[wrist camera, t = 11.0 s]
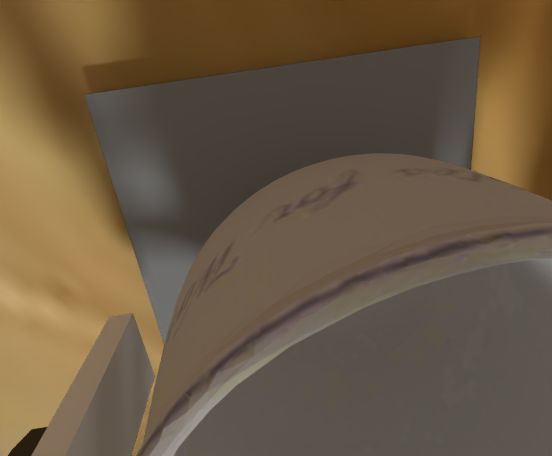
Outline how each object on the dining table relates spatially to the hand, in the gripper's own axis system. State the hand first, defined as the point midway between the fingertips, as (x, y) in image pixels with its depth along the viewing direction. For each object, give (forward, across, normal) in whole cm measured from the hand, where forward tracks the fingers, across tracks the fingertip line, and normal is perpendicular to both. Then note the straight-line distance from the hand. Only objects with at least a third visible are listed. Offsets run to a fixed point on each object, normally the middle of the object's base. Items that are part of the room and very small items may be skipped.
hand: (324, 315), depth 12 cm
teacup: (+1, -1, 0) cm, 1 cm away
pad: (+3, 0, 0) cm, 3 cm away
